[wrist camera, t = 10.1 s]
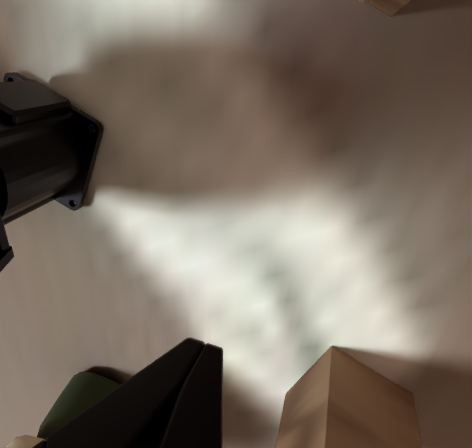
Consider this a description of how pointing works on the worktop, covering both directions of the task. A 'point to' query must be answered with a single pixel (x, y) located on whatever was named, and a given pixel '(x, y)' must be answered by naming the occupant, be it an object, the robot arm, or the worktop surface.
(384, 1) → the numbered block
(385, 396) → the numbered block
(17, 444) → the character mug
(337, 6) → the worktop surface
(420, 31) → the worktop surface
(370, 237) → the worktop surface
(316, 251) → the worktop surface
